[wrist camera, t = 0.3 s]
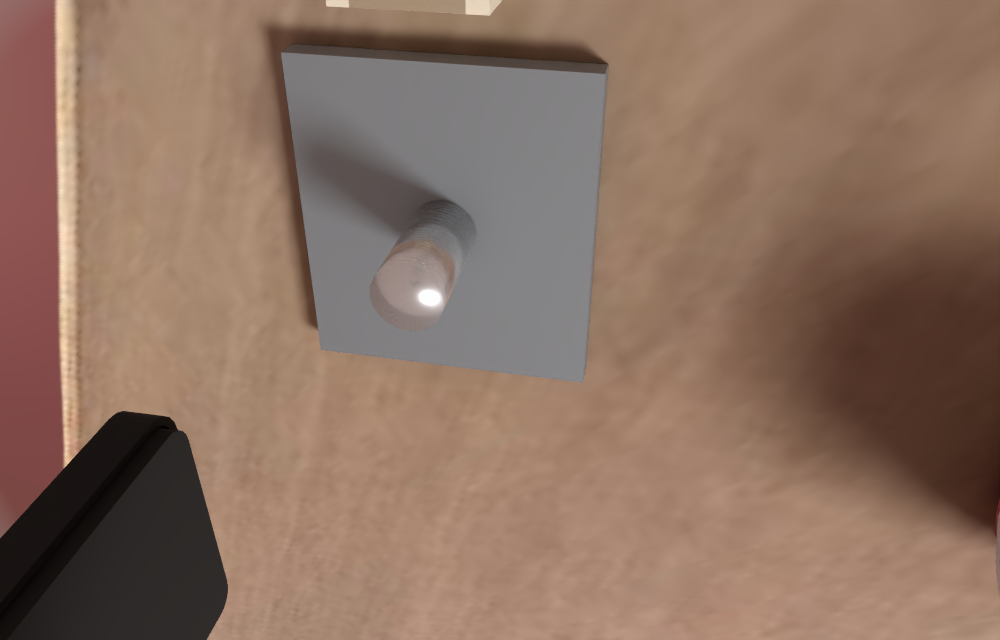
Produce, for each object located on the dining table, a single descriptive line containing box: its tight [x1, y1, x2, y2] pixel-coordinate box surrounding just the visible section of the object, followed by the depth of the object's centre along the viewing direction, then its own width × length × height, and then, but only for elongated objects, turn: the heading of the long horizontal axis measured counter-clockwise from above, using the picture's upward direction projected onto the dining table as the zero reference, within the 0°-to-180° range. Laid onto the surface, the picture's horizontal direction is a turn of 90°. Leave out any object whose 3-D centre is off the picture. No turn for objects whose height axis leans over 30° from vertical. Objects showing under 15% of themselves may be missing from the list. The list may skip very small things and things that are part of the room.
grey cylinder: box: [369, 200, 477, 331], centre depth 43 cm, size 4×4×7 cm
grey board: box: [281, 44, 608, 383], centre depth 47 cm, size 18×16×2 cm
